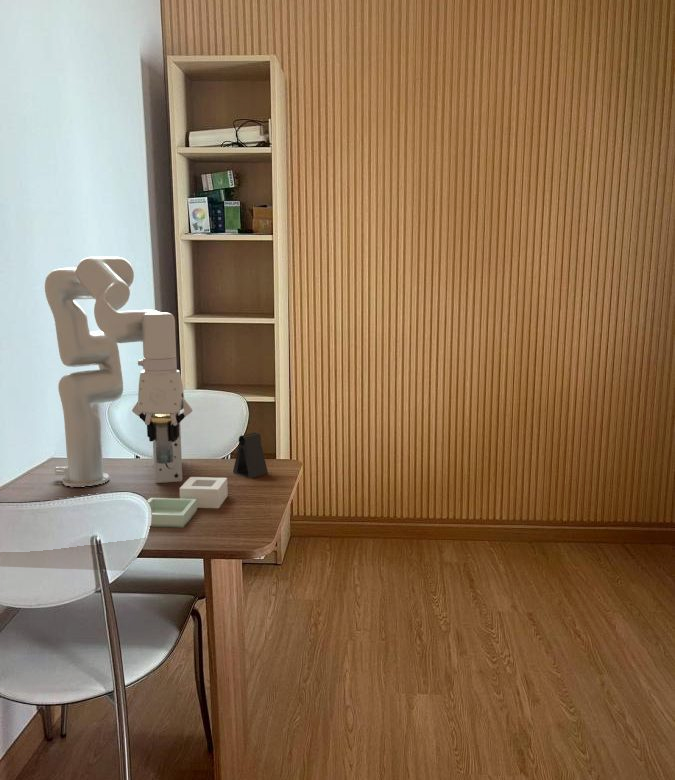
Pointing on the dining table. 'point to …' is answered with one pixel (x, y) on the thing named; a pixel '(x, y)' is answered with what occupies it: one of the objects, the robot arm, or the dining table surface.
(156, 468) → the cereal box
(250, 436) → the black a-frame stand
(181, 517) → the tray
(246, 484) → the dining table surface
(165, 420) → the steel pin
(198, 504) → the block
